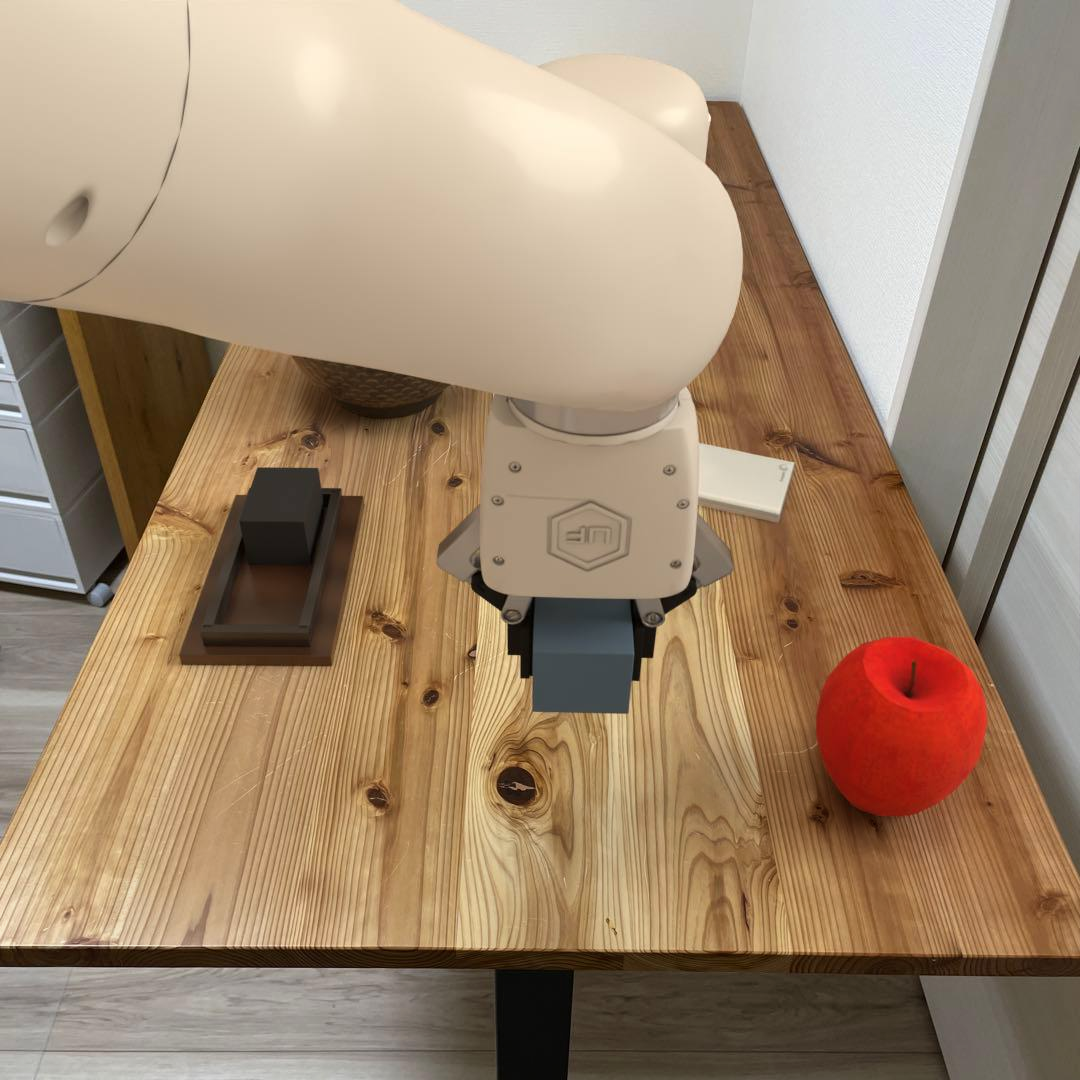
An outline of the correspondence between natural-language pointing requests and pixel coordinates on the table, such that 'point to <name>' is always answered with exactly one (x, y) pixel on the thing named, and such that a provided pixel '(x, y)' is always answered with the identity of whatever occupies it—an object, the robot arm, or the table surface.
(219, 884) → the table surface
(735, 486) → the hard drive
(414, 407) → the planter
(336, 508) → the backing board
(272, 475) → the pad
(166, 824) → the table surface
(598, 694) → the blue-grey rectangular block
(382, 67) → the robot arm
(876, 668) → the apple
